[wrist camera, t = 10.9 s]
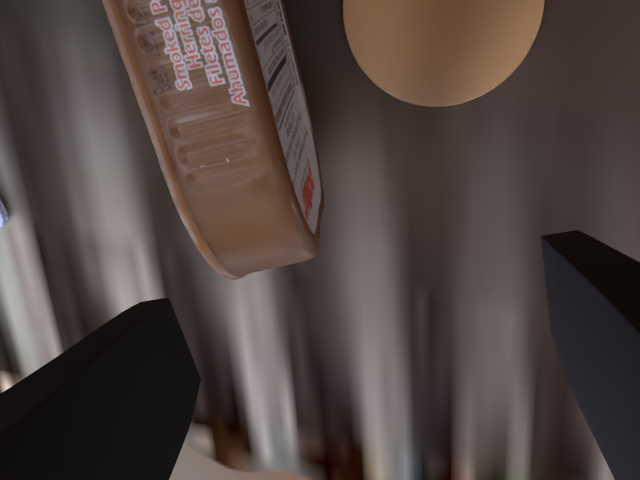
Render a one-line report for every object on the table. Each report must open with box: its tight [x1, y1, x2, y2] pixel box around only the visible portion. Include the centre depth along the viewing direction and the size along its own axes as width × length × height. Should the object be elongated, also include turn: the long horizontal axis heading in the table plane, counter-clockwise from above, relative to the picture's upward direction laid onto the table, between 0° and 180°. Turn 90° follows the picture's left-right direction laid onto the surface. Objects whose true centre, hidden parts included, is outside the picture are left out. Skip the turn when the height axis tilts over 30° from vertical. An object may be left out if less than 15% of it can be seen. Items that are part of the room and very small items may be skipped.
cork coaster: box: [343, 0, 545, 107], centre depth 19 cm, size 6×6×1 cm
